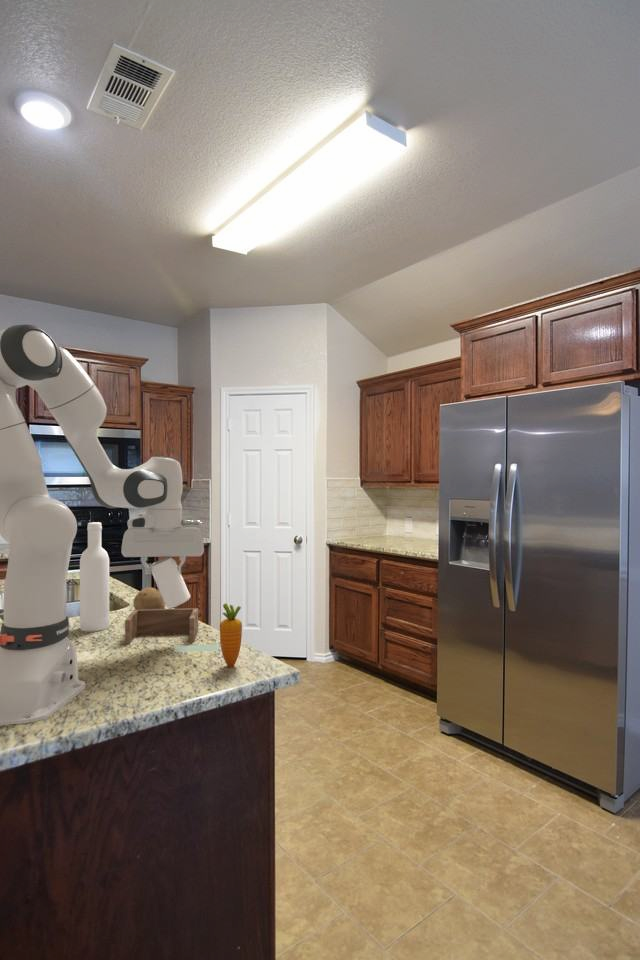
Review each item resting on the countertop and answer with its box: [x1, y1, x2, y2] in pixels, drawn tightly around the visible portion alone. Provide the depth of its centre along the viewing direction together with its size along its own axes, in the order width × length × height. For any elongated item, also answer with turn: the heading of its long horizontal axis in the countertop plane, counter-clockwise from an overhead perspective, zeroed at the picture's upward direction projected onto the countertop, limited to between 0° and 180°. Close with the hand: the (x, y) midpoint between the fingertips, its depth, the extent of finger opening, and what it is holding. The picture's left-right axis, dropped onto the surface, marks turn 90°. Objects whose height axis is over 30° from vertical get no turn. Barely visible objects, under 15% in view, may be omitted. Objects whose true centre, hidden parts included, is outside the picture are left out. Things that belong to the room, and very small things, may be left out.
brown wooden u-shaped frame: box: [124, 607, 199, 645], centre depth 143 cm, size 10×17×6 cm, turn 97°
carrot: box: [219, 603, 243, 668], centre depth 121 cm, size 5×5×15 cm
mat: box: [173, 643, 221, 653], centre depth 131 cm, size 11×11×1 cm
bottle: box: [79, 521, 111, 633], centre depth 152 cm, size 8×8×30 cm
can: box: [149, 556, 191, 609], centre depth 137 cm, size 6×6×12 cm
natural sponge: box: [132, 586, 166, 610], centre depth 160 cm, size 9×9×10 cm
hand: (163, 573), depth 137 cm, fingers closed on can, 6 cm apart
